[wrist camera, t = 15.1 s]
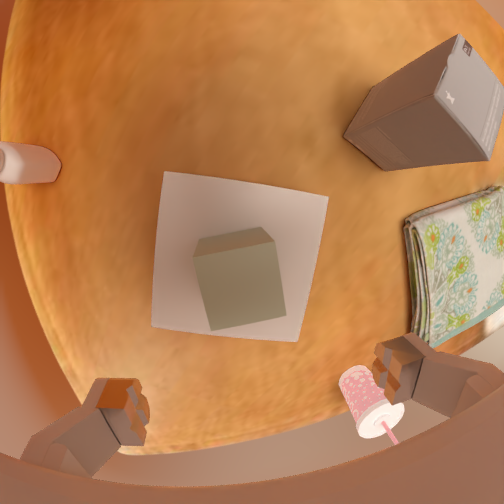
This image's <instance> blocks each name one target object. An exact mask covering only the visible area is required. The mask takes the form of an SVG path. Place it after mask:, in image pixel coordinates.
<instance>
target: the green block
mask: <svg viewBox="0 0 504 504" xmlns="http://www.w3.org/2000/svg"><path fill="white" fill-rule="evenodd" d="M192 258H193V263H194V267H195V271H196V275H197V279H198V283H199V287H200V291H201V295H202V299H203V303H204V307H205V311H206V314H207V318H208V322H209V326H210V329H211V331H215V330H220V329H226V328H231V327H236V326H241V325H246V324H251V323H256V322H260V321H265V320H270V319H274V318H279V317H283V316H287V314H286V308H285V301H284V294H283V288H282V281H281V275H280V269H279V262H278V256H277V250H276V244H275V241H274V240H273V239H272V237H271V236H270V235H269V234H268V233H267V232H266V231H265V230H264V229H263V228H262V227H257V228H252V229H247V230H242V231H237V232H232V233H227V234H222V235H217V236H212V237H207V238H202V239H199V241H198V244H197V246H196V249H195V252H194V255H193V257H192Z"/></svg>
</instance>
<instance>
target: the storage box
mask: <svg viewBox="0 0 504 504" xmlns="http://www.w3.org/2000/svg"><path fill="white" fill-rule="evenodd" d="M328 199H329V197H328V196H323V195H318V194H313V193H308V192H302V191H297V190H292V189H286V188H281V187H275V186H269V185H263V184H257V183H251V182H245V181H238V180H231V179H224V178H217V177H210V176H202V175H194V174H186V173H178V172H168V171H164V175H163V182H162V190H161V197H160V206H159V214H158V224H157V234H156V245H155V257H154V271H153V289H152V315H151V327H155V328H161V329H168V330H175V331H182V332H190V333H198V334H206V335H215V336H225V337H235V338H246V339H258V340H272V341H289V342H298V338H299V334H300V330H301V326H302V322H303V318H304V314H305V310H306V306H307V301H308V297H309V293H310V288H311V284H312V280H313V275H314V271H315V266H316V261H317V256H318V252H319V247H320V242H321V237H322V232H323V226H324V221H325V216H326V210H327V205H328ZM257 227H262V228H263V229H264V230H265V231H266V232H267V233H268V234H269V235H270V236H271V237H272V239H273V240H274V241H275V244H276V250H277V256H278V262H279V269H280V275H281V281H282V288H283V294H284V301H285V308H286V314H287V316H283V317H279V318H274V319H270V320H265V321H260V322H256V323H251V324H246V325H241V326H236V327H231V328H226V329H220V330H215V331H211V329H210V326H209V322H208V318H207V314H206V311H205V307H204V303H203V299H202V295H201V291H200V287H199V283H198V279H197V275H196V271H195V267H194V263H193V258H192V257H193V255H194V252H195V249H196V246H197V244H198V241H199V239H202V238H207V237H212V236H217V235H222V234H227V233H232V232H237V231H242V230H247V229H252V228H257Z"/></svg>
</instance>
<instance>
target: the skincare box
mask: <svg viewBox="0 0 504 504" xmlns="http://www.w3.org/2000/svg"><path fill="white" fill-rule="evenodd" d="M503 111H504V87H503V85H502V84H501V82H500V81H499V80H498V78H497V77H496V76H495V74H494V73H493V72H492V71H491V69H490V68H489V67H488V66H487V64H486V63H485V62H484V61H483V59H482V58H481V57H480V56H479V54H478V53H477V52H476V51H475V50H474V49H473V48H472V46H471V45H470V44H469V43H468V42H467V41H466V40H465V39H464V37H463V36H462V35H460V34H457V35H455V36H453V37H452V38H450V39H448V40H446V41H445V42H443V43H441V44H440V45H438V46H436V47H435V48H433V49H431V50H430V51H428V52H426V53H425V54H423V55H422V56H420V57H419V58H417V59H415V60H414V61H412V62H411V63H409V64H407V65H406V66H404V67H403V68H401V69H400V70H398V71H397V72H395V73H393V74H392V75H390V76H389V77H387V78H386V79H384V80H383V81H381V82H380V83H378V84H377V85H375V86H373V87H372V89H371V91H370V92H369V94H368V95H367V97H366V99H365V100H364V102H363V104H362V105H361V107H360V109H359V110H358V112H357V113H356V115H355V117H354V118H353V120H352V122H351V123H350V125H349V127H348V128H347V130H346V132H345V133H344V135H343V137H344V138H345V139H347V140H348V141H349V142H351V143H352V144H353V145H354V146H356V147H357V148H358V149H359V150H361V151H362V152H363V153H364V154H365V155H367V156H368V157H369V158H370V159H371V160H373V161H374V162H375V163H376V164H377V165H378V166H379V167H381V168H382V169H383V170H384V171H393V170H401V169H408V168H417V167H425V166H434V165H443V164H454V163H465V162H477V161H490V158H491V155H492V152H493V148H494V145H495V142H496V138H497V135H498V131H499V127H500V124H501V120H502V115H503Z"/></svg>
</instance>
